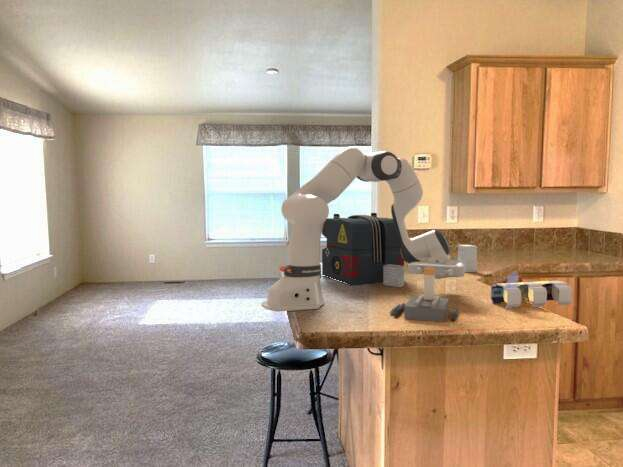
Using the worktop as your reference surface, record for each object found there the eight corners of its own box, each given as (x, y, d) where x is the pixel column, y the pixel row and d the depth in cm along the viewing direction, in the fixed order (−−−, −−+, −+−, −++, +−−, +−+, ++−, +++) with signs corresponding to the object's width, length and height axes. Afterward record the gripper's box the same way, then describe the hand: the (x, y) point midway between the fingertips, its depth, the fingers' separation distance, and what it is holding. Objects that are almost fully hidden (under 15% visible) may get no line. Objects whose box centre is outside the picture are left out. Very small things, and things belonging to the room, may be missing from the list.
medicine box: (404, 286, 207) (404, 265, 207) (398, 287, 204) (398, 267, 203) (388, 283, 213) (389, 264, 212) (382, 285, 209) (383, 265, 209)
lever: (433, 300, 160) (433, 269, 159) (423, 299, 161) (423, 268, 160) (434, 298, 163) (435, 267, 162) (424, 297, 164) (425, 267, 163)
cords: (454, 322, 148) (454, 317, 148) (387, 316, 156) (387, 312, 156) (458, 310, 163) (458, 306, 163) (397, 305, 170) (397, 301, 170)
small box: (476, 272, 243) (477, 246, 242) (465, 272, 241) (465, 246, 240) (468, 269, 251) (468, 244, 250) (457, 270, 249) (457, 244, 248)
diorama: (507, 310, 165) (508, 272, 164) (490, 303, 175) (491, 267, 174) (571, 306, 170) (573, 269, 169) (551, 300, 180) (552, 265, 179)
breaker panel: (443, 321, 149) (444, 305, 149) (404, 318, 154) (404, 302, 153) (448, 310, 164) (448, 295, 164) (412, 307, 168) (412, 293, 168)
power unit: (404, 280, 220) (405, 214, 217) (351, 286, 208) (351, 215, 205) (370, 271, 245) (370, 212, 242) (321, 276, 233) (321, 213, 230)
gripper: (410, 257, 189) (404, 261, 176) (465, 260, 182) (463, 264, 169) (410, 273, 189) (403, 279, 177) (465, 276, 182) (462, 283, 169)
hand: (433, 272), depth 173 cm, fingers open, 8 cm apart
